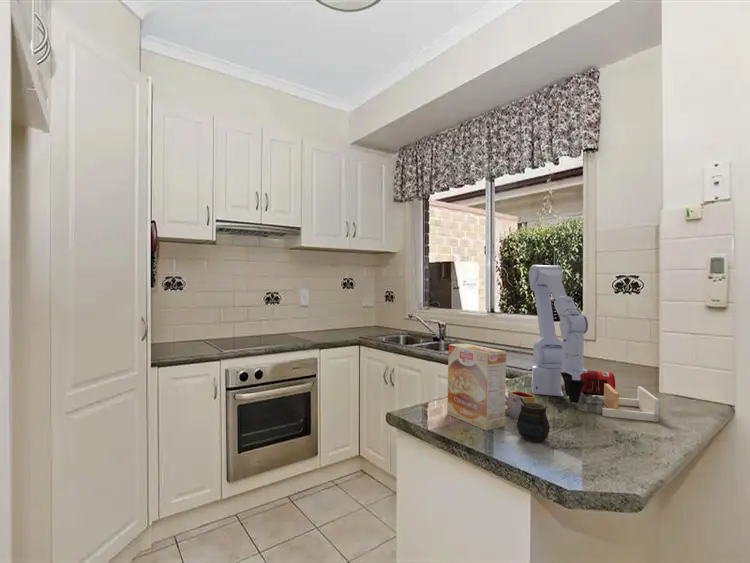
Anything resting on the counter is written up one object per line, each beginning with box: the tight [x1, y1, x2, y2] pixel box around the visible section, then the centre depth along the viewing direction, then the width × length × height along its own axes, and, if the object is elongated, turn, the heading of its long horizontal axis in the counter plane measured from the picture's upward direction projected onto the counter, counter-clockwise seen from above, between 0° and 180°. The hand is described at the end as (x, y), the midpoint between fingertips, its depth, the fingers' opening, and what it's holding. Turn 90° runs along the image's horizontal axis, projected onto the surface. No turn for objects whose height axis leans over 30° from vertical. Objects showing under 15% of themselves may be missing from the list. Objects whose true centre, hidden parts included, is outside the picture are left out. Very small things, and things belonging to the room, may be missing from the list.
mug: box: [505, 390, 536, 421], centre depth 116 cm, size 12×7×7 cm, turn 52°
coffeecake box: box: [446, 342, 507, 432], centre depth 111 cm, size 15×7×20 cm, turn 31°
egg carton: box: [575, 392, 605, 414], centre depth 126 cm, size 11×8×4 cm
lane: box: [591, 385, 660, 423], centre depth 123 cm, size 14×16×6 cm
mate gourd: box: [516, 398, 551, 443], centre depth 99 cm, size 7×8×10 cm
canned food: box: [580, 369, 616, 395], centre depth 143 cm, size 8×8×11 cm
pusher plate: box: [603, 384, 620, 410], centre depth 124 cm, size 1×13×6 cm, turn 163°
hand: (572, 399), depth 127 cm, fingers open, 7 cm apart
